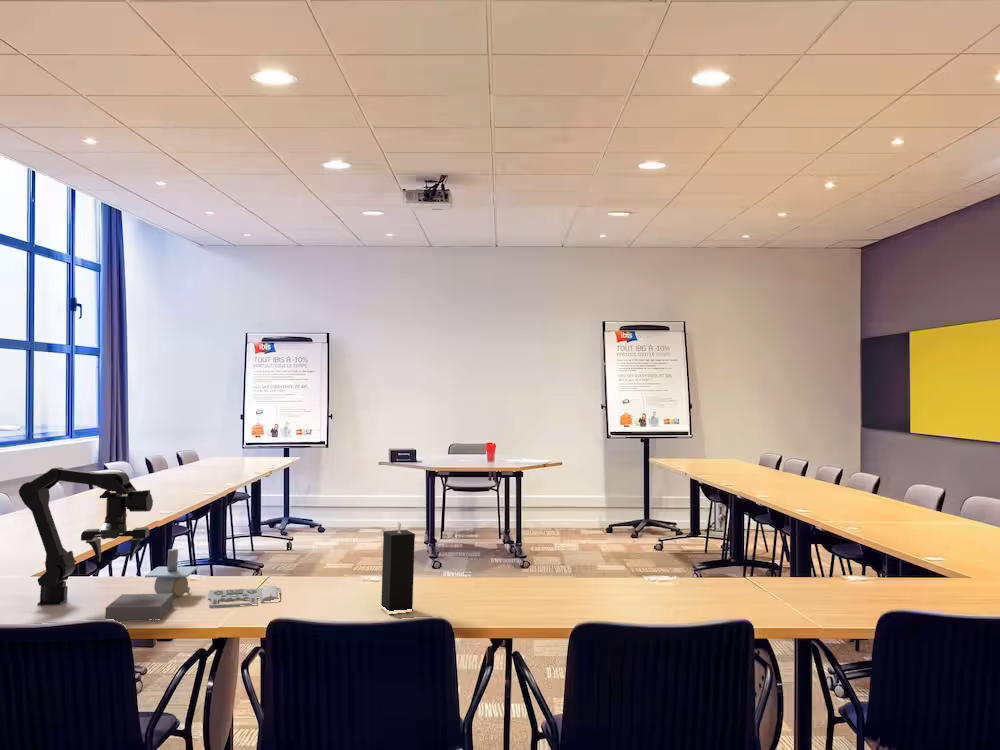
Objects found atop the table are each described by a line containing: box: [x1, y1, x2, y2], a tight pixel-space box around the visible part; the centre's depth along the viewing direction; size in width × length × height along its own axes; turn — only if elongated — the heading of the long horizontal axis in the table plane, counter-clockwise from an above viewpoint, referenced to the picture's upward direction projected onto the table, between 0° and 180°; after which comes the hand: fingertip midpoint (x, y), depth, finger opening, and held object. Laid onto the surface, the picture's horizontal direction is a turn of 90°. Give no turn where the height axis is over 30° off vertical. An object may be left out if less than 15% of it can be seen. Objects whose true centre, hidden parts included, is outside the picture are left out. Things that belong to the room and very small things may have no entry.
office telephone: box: [207, 584, 281, 609], centre depth 244 cm, size 23×3×20 cm
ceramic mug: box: [154, 577, 191, 598], centre depth 246 cm, size 11×8×8 cm
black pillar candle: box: [380, 521, 416, 611], centre depth 234 cm, size 8×8×28 cm
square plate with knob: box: [144, 548, 199, 578], centre depth 245 cm, size 13×13×8 cm
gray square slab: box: [104, 593, 174, 622], centre depth 224 cm, size 15×15×4 cm
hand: (115, 561), depth 235 cm, fingers open, 9 cm apart
